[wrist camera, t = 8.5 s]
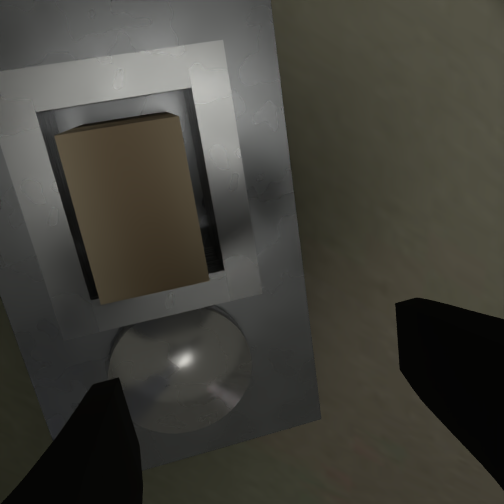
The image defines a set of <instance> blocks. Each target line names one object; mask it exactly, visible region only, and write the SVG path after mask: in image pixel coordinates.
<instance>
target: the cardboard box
mask: <svg viewBox="0 0 504 504" xmlns="http://www.w3.org/2000/svg"><path fill="white" fill-rule="evenodd" d="M54 137H55V141H56V144H57V148H58V151H59V155H60V159H61V162H62V166H63V170H64V173H65V177H66V180H67V184H68V188H69V191H70V195H71V198H72V202H73V206H74V209H75V213H76V217H77V220H78V224H79V227H80V231H81V235H82V238H83V242H84V245H85V249H86V253H87V256H88V260H89V263H90V267H91V271H92V274H93V278H94V282H95V285H96V289H97V292H98V296H99V300H100V303H101V305H103V304H107V303H112V302H117V301H121V300H126V299H130V298H135V297H139V296H144V295H148V294H153V293H158V292H162V291H167V290H171V289H176V288H180V287H185V286H189V285H194V284H198V283H203V282H208V281H210V279H209V274H208V269H207V263H206V258H205V253H204V247H203V242H202V237H201V231H200V226H199V221H198V215H197V210H196V205H195V199H194V194H193V188H192V183H191V178H190V172H189V167H188V162H187V156H186V151H185V146H184V140H183V135H182V130H181V124H180V119H179V116H177V115H175V114H172V113H169V112H159V113H153V114H146V115H140V116H133V117H127V118H121V119H114V120H108V121H101V122H95V123H88V124H82V125H80V126H77V127H75V128H72V129H70V130H67V131H65V132H62V133H60V134H57V135H55V136H54Z"/></svg>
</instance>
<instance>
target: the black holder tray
mask: <svg viewBox="0 0 504 504" xmlns="http://www.w3.org/2000/svg"><path fill="white" fill-rule="evenodd" d="M159 112H169V113H172V114H175V115H177V116H179V119H180V124H181V130H182V135H183V140H184V146H185V151H186V156H187V162H188V167H189V172H190V178H191V183H192V188H193V194H194V199H195V205H196V210H197V215H198V221H199V226H200V231H201V237H202V242H203V247H204V253H205V258H206V263H207V269H208V274H209V279H210V281H208V282H203V283H198V284H194V285H189V286H185V287H180V288H176V289H171V290H167V291H162V292H158V293H153V294H148V295H144V296H139V297H135V298H130V299H126V300H121V301H117V302H112V303H107V304H103V305H101V303H100V300H99V296H98V292H97V289H96V285H95V282H94V278H93V274H92V271H91V267H90V263H89V260H88V256H87V253H86V249H85V245H84V242H83V238H82V235H81V231H80V227H79V224H78V220H77V217H76V213H75V209H74V206H73V202H72V198H71V195H70V191H69V188H68V184H67V180H66V177H65V173H64V170H63V166H62V162H61V159H60V155H59V151H58V148H57V144H56V141H55V137H54V136H55V135H57V134H60V133H62V132H65V131H67V130H70V129H72V128H75V127H77V126H80V125H82V124H88V123H95V122H101V121H108V120H114V119H121V118H127V117H133V116H140V115H146V114H153V113H159ZM0 296H1V299H2V302H3V304H4V307H5V310H6V313H7V315H8V318H9V321H10V324H11V326H12V329H13V332H14V335H15V337H16V340H17V343H18V346H19V348H20V351H21V354H22V357H23V359H24V362H25V365H26V368H27V370H28V373H29V376H30V379H31V381H32V384H33V387H34V390H35V392H36V395H37V398H38V401H39V403H40V406H41V409H42V412H43V414H44V417H45V420H46V423H47V425H48V428H49V431H50V434H51V436H52V439H53V441H54V439H55V438H56V437H57V435H58V434H59V432H60V431H61V430H62V428H63V427H64V425H65V424H66V423H67V421H68V420H69V418H70V417H71V415H72V414H73V412H74V411H75V409H76V408H77V406H78V405H79V403H80V402H81V400H82V399H83V398H84V396H85V395H86V393H87V392H88V390H89V389H90V387H91V386H92V385H93V384H95V383H99V382H103V381H106V380H110V379H114V378H118V377H119V379H120V383H121V386H122V389H123V392H124V396H125V399H126V402H127V405H128V409H129V412H130V415H131V419H132V422H133V425H134V428H135V432H136V435H137V438H138V441H139V445H140V454H141V466H142V471H143V470H146V469H150V468H153V467H157V466H160V465H163V464H167V463H170V462H174V461H177V460H181V459H184V458H188V457H191V456H195V455H198V454H202V453H205V452H209V451H212V450H216V449H219V448H222V447H226V446H229V445H233V444H236V443H240V442H243V441H247V440H250V439H254V438H257V437H261V436H264V435H268V434H271V433H275V432H278V431H281V430H285V429H288V428H292V427H295V426H299V425H302V424H306V423H309V422H313V421H316V420H320V419H321V412H320V404H319V395H318V387H317V379H316V371H315V363H314V354H313V346H312V338H311V330H310V321H309V313H308V305H307V297H306V288H305V280H304V272H303V264H302V255H301V247H300V239H299V231H298V222H297V214H296V206H295V198H294V190H293V181H292V173H291V165H290V157H289V148H288V140H287V132H286V124H285V115H284V107H283V99H282V91H281V82H280V74H279V66H278V58H277V50H276V41H275V33H274V25H273V17H272V8H271V0H0Z"/></svg>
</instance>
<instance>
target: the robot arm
mask: <svg viewBox="0 0 504 504" xmlns="http://www.w3.org/2000/svg"><path fill="white" fill-rule="evenodd" d="M395 306H396V321H397V336H398V350H399V365H400V371H401V372H402V374H403V375H404V376H405V378H406V379H407V381H408V382H409V384H410V385H411V387H412V388H413V389H414V391H415V392H416V394H417V395H418V396H419V398H420V399H421V400H422V401H423V402H424V404H425V405H426V406H427V407H428V408H429V409H430V410H431V411H432V412H433V413H434V414H435V416H436V417H437V418H438V419H439V420H440V421H441V422H442V423H443V424H444V425H445V426H446V427H447V428H448V429H449V430H450V431H451V433H452V434H453V435H454V436H455V437H456V438H457V439H458V440H459V441H460V442H461V443H462V444H463V445H464V446H465V447H466V448H467V449H468V450H469V452H470V453H471V454H472V455H473V456H474V457H475V458H476V459H477V460H478V461H479V462H480V463H481V464H482V465H483V466H484V468H485V469H486V470H487V471H488V472H489V473H490V474H491V476H492V477H493V478H494V479H495V480H496V481H497V483H498V484H499V485H500V486H501V488H502V489H503V490H504V319H501V318H497V317H493V316H489V315H485V314H482V313H478V312H474V311H470V310H467V309H463V308H459V307H456V306H452V305H448V304H444V303H440V302H436V301H432V300H428V299H422V298H413V299H409V300H406V301H402V302H398V303H395ZM142 494H143V480H142V466H141V454H140V445H139V441H138V438H137V435H136V432H135V428H134V425H133V422H132V419H131V415H130V412H129V409H128V405H127V402H126V399H125V396H124V392H123V389H122V386H121V383H120V379H119V377H118V378H114V379H110V380H106V381H103V382H99V383H95V384H93V385H92V386H91V387H90V389H89V390H88V392H87V393H86V395H85V396H84V398H83V399H82V400H81V402H80V403H79V405H78V406H77V408H76V409H75V411H74V412H73V414H72V415H71V417H70V418H69V420H68V421H67V423H66V424H65V425H64V427H63V428H62V430H61V431H60V432H59V434H58V435H57V437H56V438H55V439H54V441H53V442H52V444H51V445H50V446H49V447H48V449H47V450H46V451H45V452H44V454H43V455H42V456H41V457H40V459H39V460H38V461H37V463H36V464H35V465H34V466H33V468H32V469H31V470H30V471H29V473H28V474H27V475H26V476H25V478H24V479H23V480H22V481H21V482H20V483H19V484H18V486H17V487H16V488H15V489H14V490H13V491H12V492H11V494H10V495H9V496H8V497H7V498H6V499H5V500H4V501H3V502H2V503H1V504H142Z"/></svg>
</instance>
